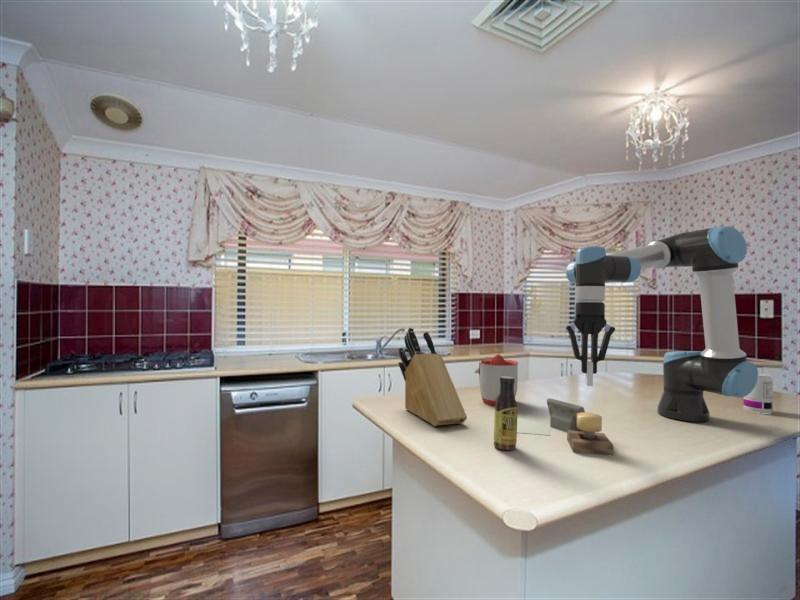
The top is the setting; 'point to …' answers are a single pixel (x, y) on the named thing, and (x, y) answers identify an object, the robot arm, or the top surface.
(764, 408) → the supplement can
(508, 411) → the sauce bottle
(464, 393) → the top surface
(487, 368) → the citrus juicer
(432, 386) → the knife block
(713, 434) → the top surface
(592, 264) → the robot arm
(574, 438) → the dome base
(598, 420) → the yellow rounded cube
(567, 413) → the digital clock
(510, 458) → the top surface
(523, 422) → the pad
